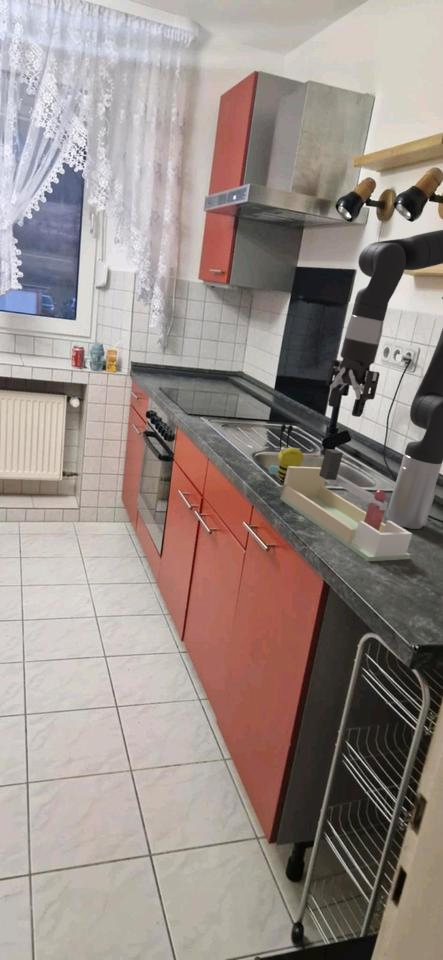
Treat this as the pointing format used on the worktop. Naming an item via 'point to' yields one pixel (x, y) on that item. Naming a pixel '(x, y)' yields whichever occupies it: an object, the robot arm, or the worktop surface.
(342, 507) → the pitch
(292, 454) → the toy
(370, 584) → the worktop surface
